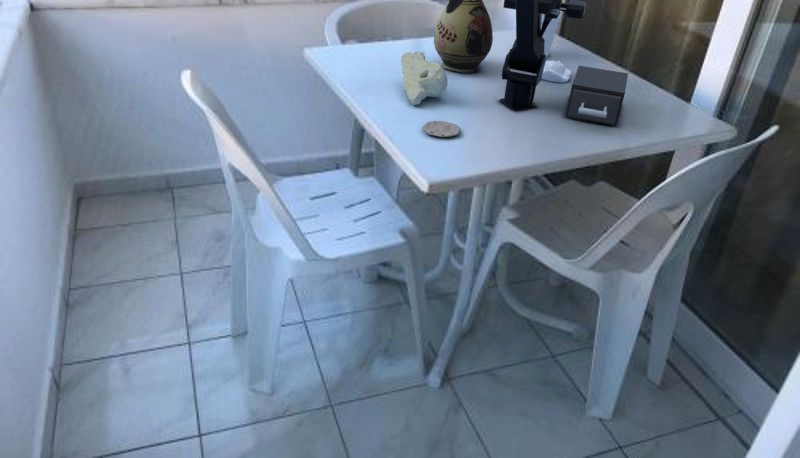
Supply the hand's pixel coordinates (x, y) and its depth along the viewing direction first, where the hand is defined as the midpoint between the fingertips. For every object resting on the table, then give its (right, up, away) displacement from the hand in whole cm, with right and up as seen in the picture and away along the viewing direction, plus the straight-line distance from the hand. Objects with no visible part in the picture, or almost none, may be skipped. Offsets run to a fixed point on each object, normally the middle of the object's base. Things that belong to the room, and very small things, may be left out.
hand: (538, 40), depth 157 cm
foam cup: (+6, +4, +29) cm, 30 cm away
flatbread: (-25, -25, -18) cm, 40 cm away
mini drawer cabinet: (+12, -18, -4) cm, 22 cm away
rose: (+6, -6, +14) cm, 16 cm away
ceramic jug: (-19, -3, +16) cm, 25 cm away
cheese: (-30, -13, -1) cm, 33 cm away
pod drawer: (+11, -19, -8) cm, 24 cm away
